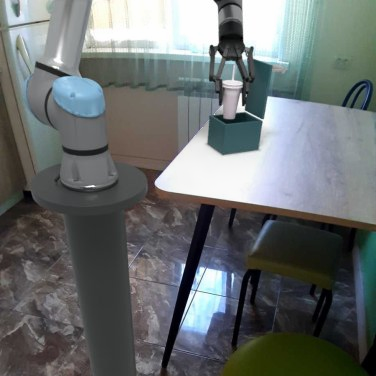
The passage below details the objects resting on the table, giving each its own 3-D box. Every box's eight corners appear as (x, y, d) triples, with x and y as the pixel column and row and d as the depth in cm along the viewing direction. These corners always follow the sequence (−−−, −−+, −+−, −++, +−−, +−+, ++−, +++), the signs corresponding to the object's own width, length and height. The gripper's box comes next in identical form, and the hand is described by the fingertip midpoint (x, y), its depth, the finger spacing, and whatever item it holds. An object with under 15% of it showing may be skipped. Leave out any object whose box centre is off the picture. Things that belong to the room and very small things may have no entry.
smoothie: (240, 115, 132) (245, 64, 122) (238, 121, 127) (244, 68, 118) (220, 113, 132) (224, 62, 123) (217, 119, 128) (222, 66, 118)
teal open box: (222, 154, 131) (225, 125, 125) (207, 144, 138) (209, 115, 132) (258, 149, 136) (262, 120, 130) (241, 139, 143) (245, 111, 137)
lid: (270, 65, 120) (293, 64, 122) (251, 58, 126) (272, 58, 129) (261, 119, 129) (282, 117, 132) (244, 110, 136) (264, 108, 139)
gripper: (259, 39, 129) (260, 111, 128) (197, 37, 128) (199, 109, 127) (265, 20, 122) (267, 96, 121) (200, 17, 120) (201, 94, 119)
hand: (232, 103), depth 124 cm, fingers closed on smoothie, 6 cm apart
